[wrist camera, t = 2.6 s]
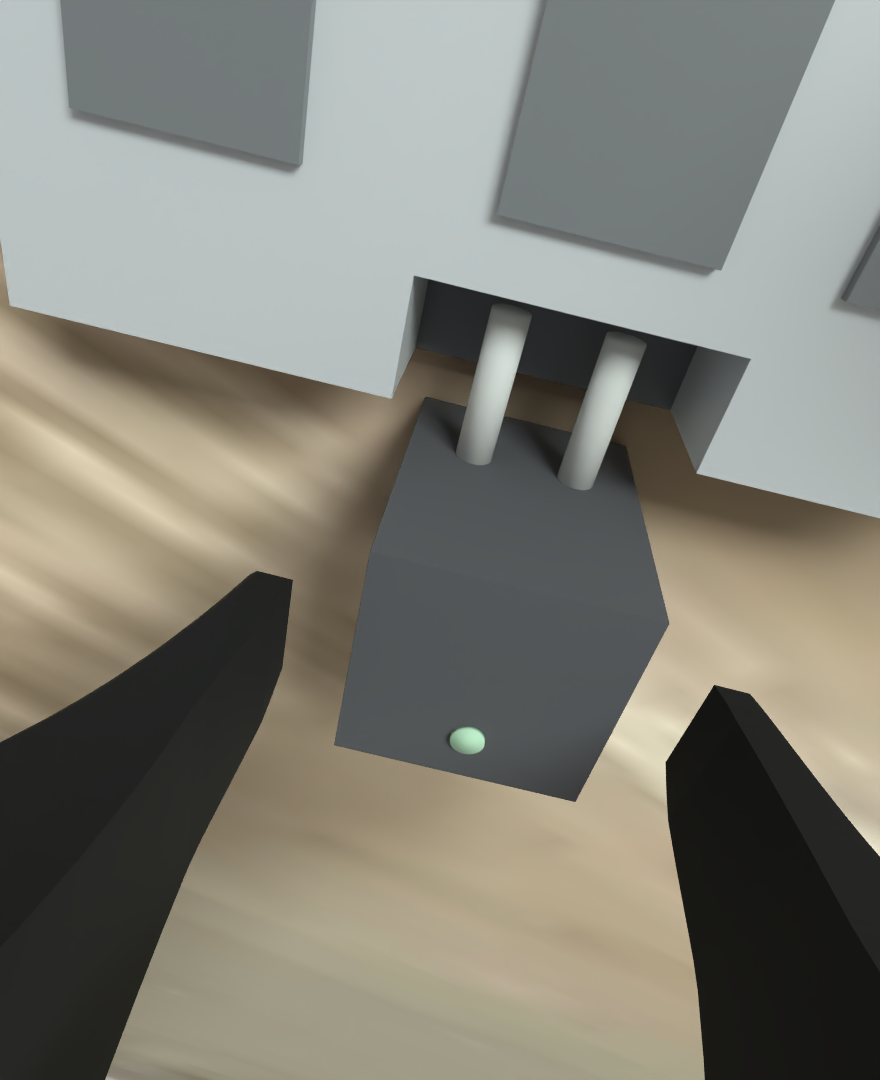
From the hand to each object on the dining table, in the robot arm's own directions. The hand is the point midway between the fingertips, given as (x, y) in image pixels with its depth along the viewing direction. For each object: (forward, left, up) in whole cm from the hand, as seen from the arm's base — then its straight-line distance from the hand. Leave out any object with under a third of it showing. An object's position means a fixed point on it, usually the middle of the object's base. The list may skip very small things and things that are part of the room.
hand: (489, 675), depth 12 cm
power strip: (0, +7, -6) cm, 9 cm away
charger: (0, +1, -6) cm, 6 cm away
